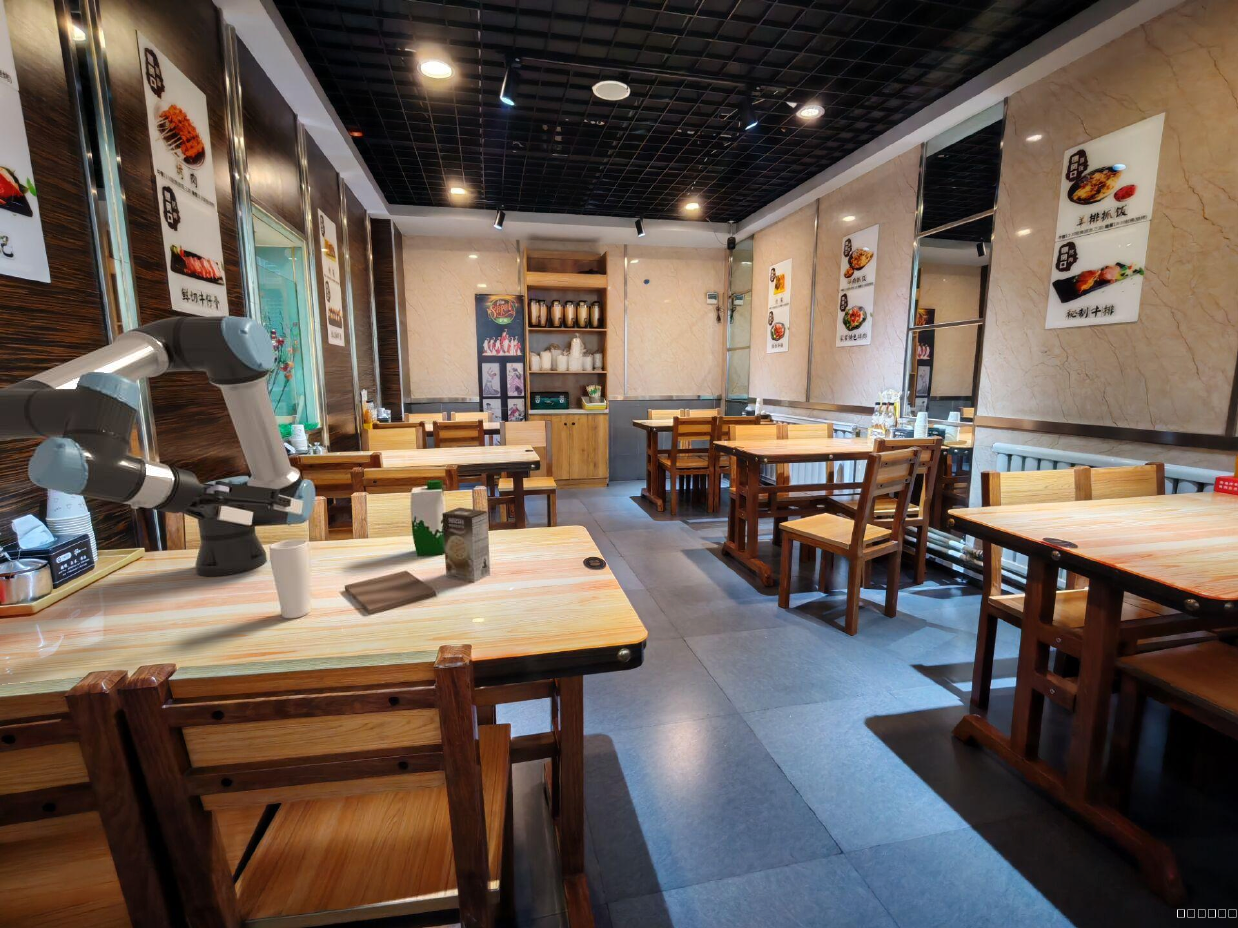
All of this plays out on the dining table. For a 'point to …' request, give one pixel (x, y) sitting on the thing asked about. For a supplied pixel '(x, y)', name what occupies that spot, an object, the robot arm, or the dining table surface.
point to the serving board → (389, 591)
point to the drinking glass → (292, 576)
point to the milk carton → (428, 518)
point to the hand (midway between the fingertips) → (275, 513)
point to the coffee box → (466, 544)
